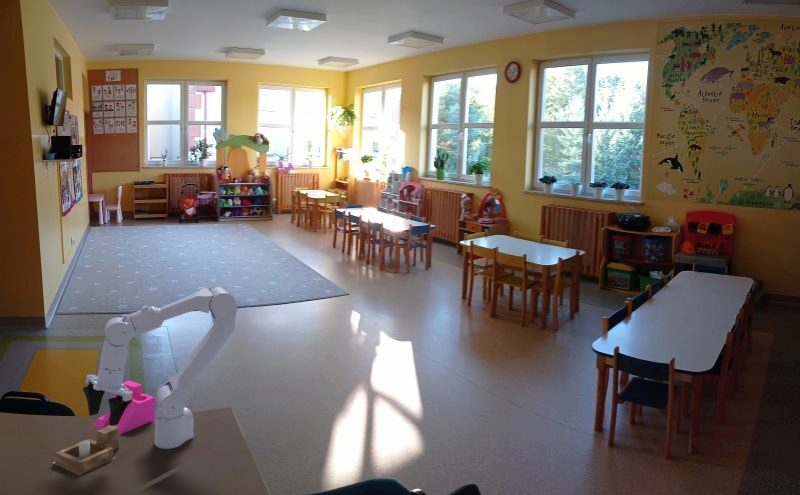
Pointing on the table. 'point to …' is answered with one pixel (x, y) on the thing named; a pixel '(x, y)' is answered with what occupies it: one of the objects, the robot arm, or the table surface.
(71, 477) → the table surface
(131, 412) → the bracket
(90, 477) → the table surface
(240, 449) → the table surface
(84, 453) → the peg stand
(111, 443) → the walnut link
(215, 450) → the table surface
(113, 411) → the robot arm
